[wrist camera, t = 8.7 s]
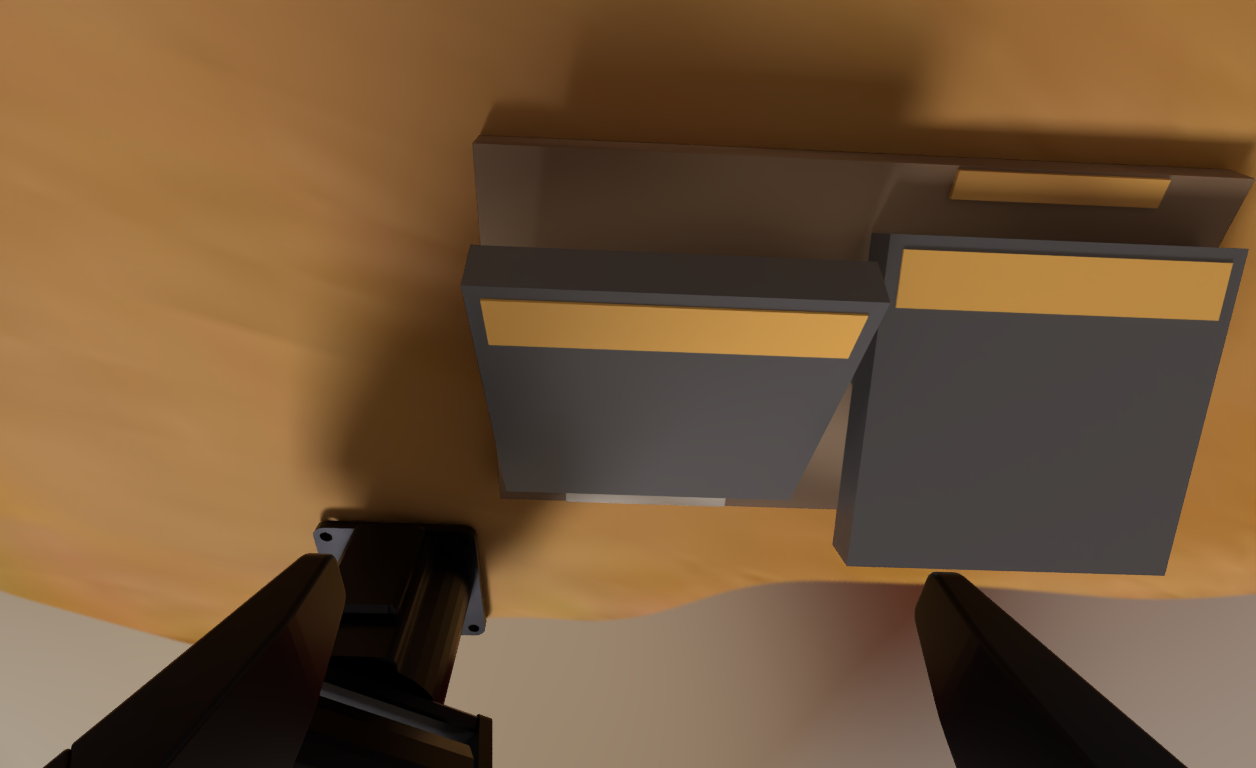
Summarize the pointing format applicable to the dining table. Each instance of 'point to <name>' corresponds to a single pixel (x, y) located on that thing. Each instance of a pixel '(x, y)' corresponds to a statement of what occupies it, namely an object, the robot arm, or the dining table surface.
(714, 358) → the block
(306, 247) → the dining table surface
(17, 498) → the dining table surface
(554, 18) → the dining table surface
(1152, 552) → the rocker outer
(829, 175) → the switch unit
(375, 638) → the robot arm
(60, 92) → the dining table surface
